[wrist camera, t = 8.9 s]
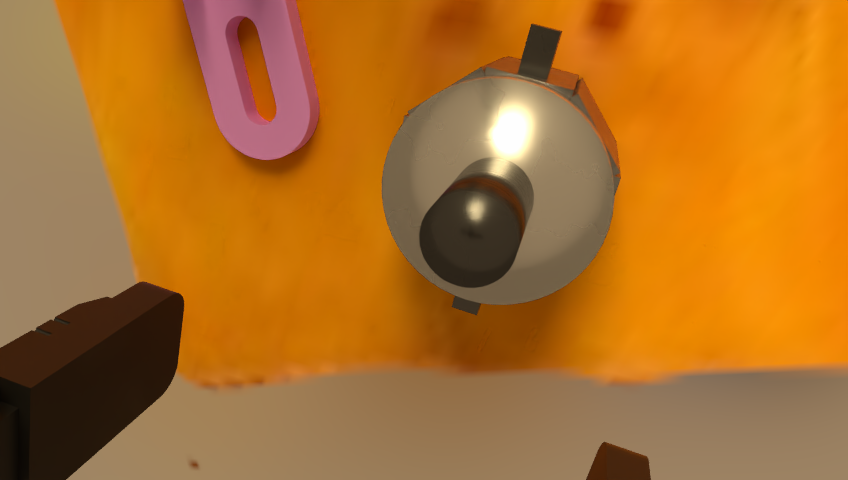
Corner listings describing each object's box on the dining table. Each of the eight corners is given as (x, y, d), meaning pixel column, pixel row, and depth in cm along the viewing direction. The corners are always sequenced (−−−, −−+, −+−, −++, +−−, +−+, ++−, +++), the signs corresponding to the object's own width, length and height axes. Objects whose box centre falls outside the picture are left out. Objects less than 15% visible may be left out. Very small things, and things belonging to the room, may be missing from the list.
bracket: (174, -85, 35) (78, -107, 28) (270, -113, 33) (191, -144, 27) (240, 161, 38) (168, 191, 32) (330, 146, 37) (273, 174, 30)
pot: (464, 1, 33) (430, -1, 26) (649, 49, 31) (663, 59, 25) (405, 242, 37) (365, 289, 31) (565, 292, 36) (558, 353, 29)
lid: (414, 50, 27) (357, 61, 21) (645, 108, 25) (660, 138, 19) (372, 259, 30) (312, 323, 24) (574, 320, 29) (568, 405, 22)
